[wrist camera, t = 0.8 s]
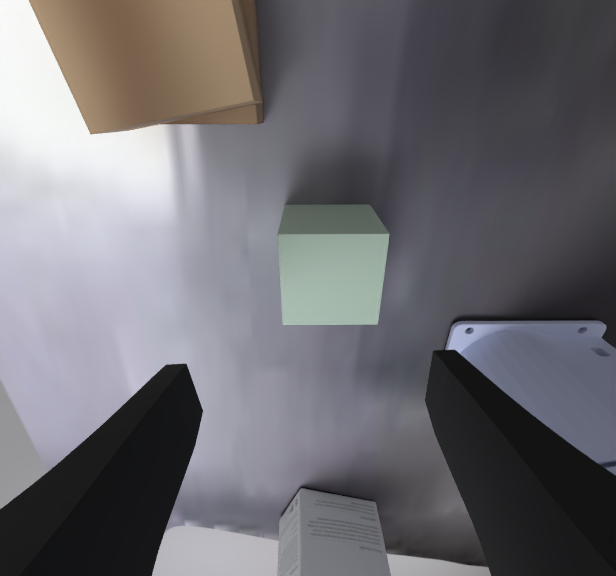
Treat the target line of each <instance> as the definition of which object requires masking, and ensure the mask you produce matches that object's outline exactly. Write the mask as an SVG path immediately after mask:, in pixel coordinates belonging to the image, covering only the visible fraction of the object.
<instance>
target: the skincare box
mask: <svg viewBox="0 0 616 576" xmlns="http://www.w3.org/2000/svg"><path fill="white" fill-rule="evenodd" d="M277 576H391V574H390V569H389V564H388V560H387V555H386V550H385V545H384V540H383V535H382V530H381V525H380V520H379V515H378V511H377V506H376V502H374V501H368V500H363V499H357V498H352V497H347V496H341V495H336V494H330V493H325V492H320V491H314V490H309V489H304V488H301V489H300V490H299V492H298V493H297V495H296V496H295V497H294V499H293V500H292V502H291V503H290V505H289V506H288V508H287V510H286V511H285V513H284V514H283V516H282V517H281V519H280V522H279V547H278V572H277Z"/></svg>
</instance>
